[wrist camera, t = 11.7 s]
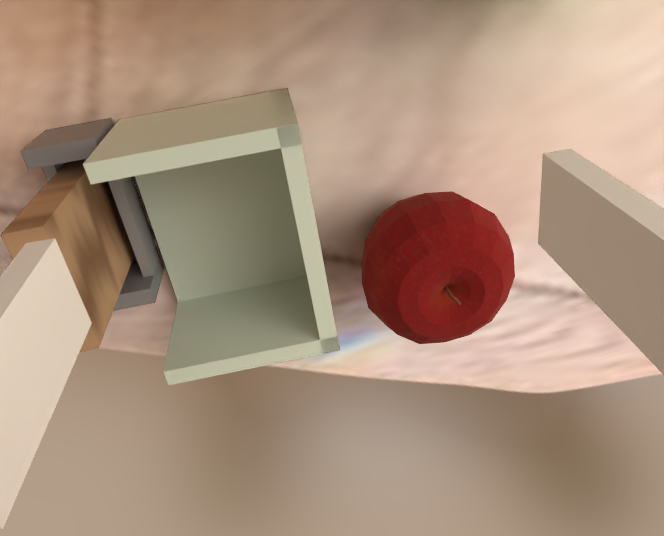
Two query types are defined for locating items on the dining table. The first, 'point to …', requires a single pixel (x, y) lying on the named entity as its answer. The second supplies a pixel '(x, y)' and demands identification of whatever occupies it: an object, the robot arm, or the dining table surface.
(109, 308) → the door panel
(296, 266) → the cabinet
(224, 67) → the dining table surface
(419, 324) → the apple
